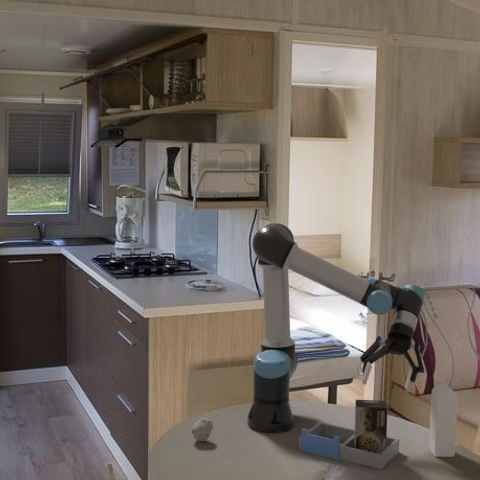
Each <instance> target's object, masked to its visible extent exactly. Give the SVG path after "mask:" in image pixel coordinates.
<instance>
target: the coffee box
mask: <svg viewBox="0 0 480 480" xmlns="http://www.w3.org/2000/svg"><path fill="white" fill-rule="evenodd" d="M388 408H389V407H388V405H387V401H386V400H380V399H379V400H378V399H376V400H375V399H355V412H354V429H355V437H354V448H356V449H360V450H364V451H368V452H373V453H377V454H381V453H382V452H383V451H384V450H385V449H386V437H388V436H387V435H388V434H387V433H388V430H387V428H388Z"/></svg>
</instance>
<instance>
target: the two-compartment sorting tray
mask: <svg viewBox="0 0 480 480" xmlns="http://www.w3.org/2000/svg"><path fill="white" fill-rule="evenodd" d="M354 437H355V428H350V427H346V426H341V425H337V424H332V423H327V422H323V421H319V422H318V423H316V424H315V425H314V426H312V427H310V428H309V429H308V428H301V435H299V437H298V438H299V439H298V441H299V442H298V450H299V451H300V452H304V453H309V454H313V455H316V456H320V457H324V458H329V459H332V460H337V461H339V460H341V461H345V462H349V463H353V464H356V465H360V464H363V465H362V466H364V465H367V466H366V467H368V466H371V467H370V468H372V467H374V468H373V469H377V468H378V469H377V470H381V469H382V468H383V467H384V466H385V465H386V464H387V463H388V462H389V461H390V460H391V459H392V460H393V459H394V458H395V456H396V455H398V454H399V453H400V440H401V439H400V438H397V437H396V438H395V437H392V436H387V437H386V449H385V450H384V451H383V452H382V453H381V454H377V453H373V452H368V451H364V450H360V449H356V448H354ZM340 441H344V442H343V443H341V442H340ZM340 443H341V444H340ZM390 462H391V461H390ZM390 462H389V463H390ZM357 463H358V464H357ZM389 463H388V464H389ZM388 464H387V465H388ZM387 465H386V466H387ZM386 466H385V467H386ZM385 467H384V468H385ZM384 468H383V469H384ZM383 469H382V470H383Z"/></svg>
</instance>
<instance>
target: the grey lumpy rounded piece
mask: <svg viewBox="0 0 480 480" xmlns="http://www.w3.org/2000/svg"><path fill="white" fill-rule="evenodd" d="M213 423H214V422H213V421H212V420H210V419H208V418H207V417H201V418H200V419H199V420H197V421H196V422H195V423H194V424H193V426H192V428H191V433H192V434H193V438H194V439H195V440H196V441H197V442H199V443H200V442H203V443H204V442H206V441H207V440H208V439H209V438H210V435H211V433H212V431H213V427H214V424H213Z"/></svg>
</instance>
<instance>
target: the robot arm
mask: <svg viewBox="0 0 480 480" xmlns="http://www.w3.org/2000/svg"><path fill="white" fill-rule="evenodd" d="M251 245H252V249H253V252H254V254H255V255H256V256H257V264H258V266H259V267H261V269H262V279H263V280H262V281H263V282H262V283H263V306H264V307H263V308H264V311H263V312H264V314H263V315H264V335H265V337H264V338H263V340H262V341H261V342H260V348H261V349H260V350H261V351H260V352H259V353H257V354H256V355H255V357H254V360H253V361H254V362H253V397H252V398H253V401H252V403H251V406H250V409H249V412H248V415H247V426H248V427H249V428H250V429H252V430H255V431H258V432H263V433H282V432H286V431H289V430H291V429H292V428H293V427H294V424H295V423H294V422H295V420H294V415H293V411H292V408H291V405H290V404H291V403H290V383H291V379H292V377H293V375H294V373H295V372H296V370H297V366H298V362H299V361H298V355H297V352H296V341H295V340H294V338H292V337H291V318H290V317H291V315H290V284H289V283H290V282H289V270H290V271H292V272H294V273H296V274H297V275H300V276H302V277H304V278H306V279H308V280H310V281H312V282H315V283H317V284H319V285H320V286H322V287H325V288H327V289H329V290H331V291H333V292H335V293H337V294H339V295H341V296H343V297H345V298H346V299H347V298H348V299H349V300H351V301H354V302H355V303H358V304H359V305H362V306H363V307H365V308H367V309H368V310H369V311H370V313H373V315H377V316H381V315H385V314H387V313H388V312H389V311H390V310H394V311H395V312H394V316H393V318H392V321H391V325H390V327H389V328H390V329H389V330H388V334H387V337H386V338H381V336H380V335H379V336H377V337H376V339H375V341H374V342H373V343H372V344H371V345H370V346H369V347H368V348H367V349H366V350H365V351H364V352H363V353H362V354H361V355H360V357H359V359H360V362H361V363H362V364H363V367H362V369H361V371H362V373H363V375H362V378H361V381H362V384H363V385H365V386H366V385H367V384H368V383H367V382H368V380H369V377H370V373H371V370H372V368H373V367H372V364H373V363H375V362H377V361H378V360H380V359H381V358H383V357H385V356H386V355H389V354H390V355H397V356H402V355H403V356H404V357H405V359H406V361H407V362H408V364H409V366H410V368H409V371H408V375H407V377H406V381H405V384H404V390H405V392H406V393H410V389H411V386H412V383H415V382H416V380H417V377H418V374H420V373H422V374H424V373H425V367H424V363H423V360H422V356H421V353H420V352H421V346H420V345H421V344H420V343H419V341H416V342H413V343H412V341H413V337H414V335H415V330H416V327H417V324H418V321H419V317H420V313H421V312H422V308H423V305H424V300H425V295H426V294H425V290H424V289H423V288H422V287H420V286H419V285H417V284H410V283H409V284H405V285H404V286H403V287H398V286H395V285H393V284H391V283H388V282H385V281H381V280H380V279H376V278H373V277H369V278H367V280H366V279H365V278H362V277H361V276H358V275H357V274H354V273H352V272H350V271H347V270H346V269H343V268H342V267H339V266H338V265H335V264H334V263H331V262H330V261H327V260H326V259H323V258H321V257H319V256H317V255H315V254H312V253H311V252H308V251H306V250H304V249H303V248H301V247H299V246H298V243H297V242H296V241H295V237H294V234H293V232H292V230H291V229H290V227H288V226H286V225H285V224H283V223H279V222H278V223H277V222H276V223H275V222H272V223H268V224H266V225H264V227H261V228H260V229H258V230H257V231H256V233H255V234H254V235H253V238H252V244H251ZM411 349H412V350H413V351H414V352H415V353H414V354H415V357H416V361H417V365H418V366H417V365H416V364H415V362H414V360H413V358H412V357H411V356H410V354H409V350H411Z"/></svg>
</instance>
